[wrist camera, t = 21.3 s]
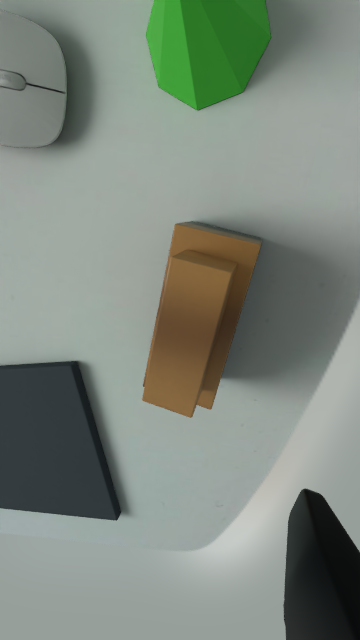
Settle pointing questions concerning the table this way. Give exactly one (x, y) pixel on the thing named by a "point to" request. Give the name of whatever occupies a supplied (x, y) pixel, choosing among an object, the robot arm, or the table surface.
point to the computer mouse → (30, 84)
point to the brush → (197, 314)
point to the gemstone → (206, 47)
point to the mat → (51, 444)
